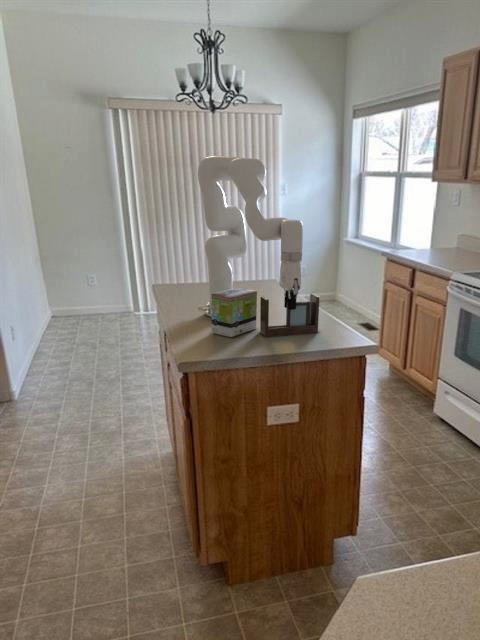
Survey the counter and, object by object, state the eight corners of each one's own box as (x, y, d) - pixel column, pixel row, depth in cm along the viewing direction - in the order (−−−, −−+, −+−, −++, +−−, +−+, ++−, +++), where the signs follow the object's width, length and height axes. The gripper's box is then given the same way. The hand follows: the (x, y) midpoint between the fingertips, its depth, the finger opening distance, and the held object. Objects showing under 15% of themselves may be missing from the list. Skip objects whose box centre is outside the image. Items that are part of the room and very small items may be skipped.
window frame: (265, 336, 192) (265, 299, 187) (260, 332, 197) (260, 296, 192) (317, 332, 198) (319, 296, 193) (311, 328, 204) (313, 293, 199)
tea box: (233, 338, 189) (232, 297, 184) (211, 333, 194) (209, 293, 188) (257, 328, 201) (257, 289, 196) (236, 324, 206) (235, 286, 200)
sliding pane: (287, 330, 194) (288, 292, 189) (285, 329, 196) (286, 291, 191) (309, 328, 197) (311, 291, 192) (307, 327, 199) (309, 290, 194)
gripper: (273, 253, 192) (273, 304, 198) (289, 260, 178) (288, 314, 184) (293, 253, 194) (292, 303, 201) (310, 259, 180) (308, 313, 187)
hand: (290, 308), depth 193 cm, fingers closed
